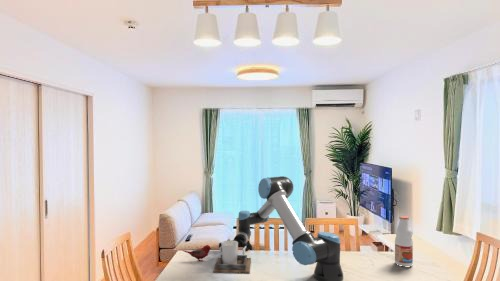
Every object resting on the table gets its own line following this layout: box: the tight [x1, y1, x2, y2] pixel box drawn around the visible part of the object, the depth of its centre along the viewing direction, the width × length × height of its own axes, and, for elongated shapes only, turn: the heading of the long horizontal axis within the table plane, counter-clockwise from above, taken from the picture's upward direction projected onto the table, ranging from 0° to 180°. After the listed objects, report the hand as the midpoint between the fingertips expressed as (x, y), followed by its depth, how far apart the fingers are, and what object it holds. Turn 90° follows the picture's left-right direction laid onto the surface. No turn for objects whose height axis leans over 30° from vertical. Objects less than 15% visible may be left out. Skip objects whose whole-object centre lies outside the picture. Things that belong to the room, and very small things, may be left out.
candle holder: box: [220, 239, 239, 264], centre depth 191 cm, size 10×10×12 cm
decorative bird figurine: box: [182, 244, 212, 263], centre depth 197 cm, size 3×18×10 cm, turn 83°
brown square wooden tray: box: [212, 254, 252, 274], centre depth 190 cm, size 20×20×4 cm
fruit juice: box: [394, 215, 414, 266], centre depth 192 cm, size 9×9×28 cm
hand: (231, 251), depth 188 cm, fingers open, 13 cm apart
